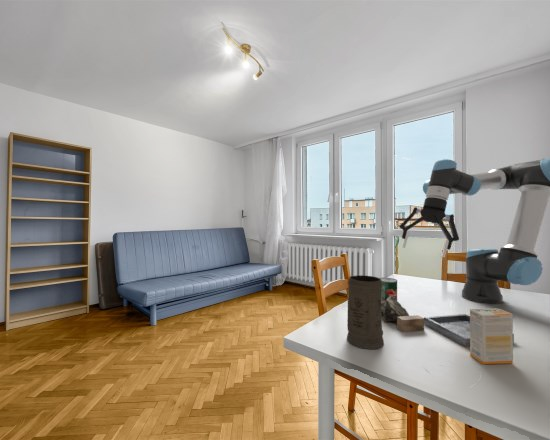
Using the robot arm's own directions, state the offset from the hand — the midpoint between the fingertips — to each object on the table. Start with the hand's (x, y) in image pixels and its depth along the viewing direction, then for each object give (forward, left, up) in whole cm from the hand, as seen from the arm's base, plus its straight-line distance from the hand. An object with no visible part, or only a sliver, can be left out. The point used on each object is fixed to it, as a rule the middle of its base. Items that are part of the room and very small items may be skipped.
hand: (422, 252), depth 103 cm
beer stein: (+31, +13, -25) cm, 42 cm away
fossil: (+12, +2, -25) cm, 28 cm away
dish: (-3, +15, -25) cm, 29 cm away
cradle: (+13, +1, -25) cm, 28 cm away
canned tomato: (+6, -15, -25) cm, 29 cm away
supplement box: (+4, +31, -25) cm, 40 cm away
